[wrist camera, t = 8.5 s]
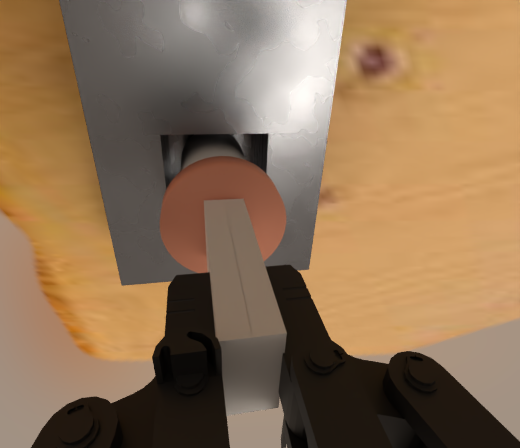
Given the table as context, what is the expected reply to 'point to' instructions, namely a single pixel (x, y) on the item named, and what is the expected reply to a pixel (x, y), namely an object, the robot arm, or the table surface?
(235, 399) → the robot arm
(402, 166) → the table surface
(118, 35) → the block
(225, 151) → the red plunger
